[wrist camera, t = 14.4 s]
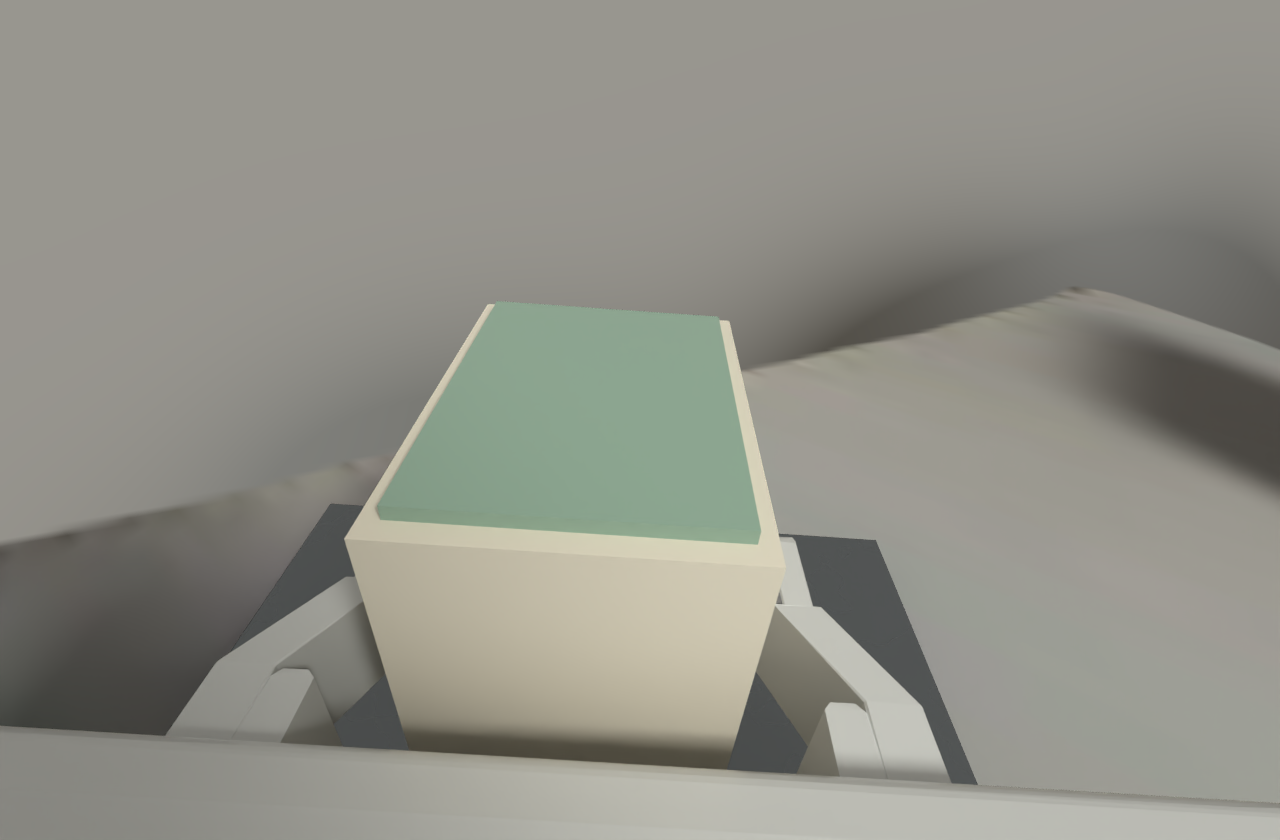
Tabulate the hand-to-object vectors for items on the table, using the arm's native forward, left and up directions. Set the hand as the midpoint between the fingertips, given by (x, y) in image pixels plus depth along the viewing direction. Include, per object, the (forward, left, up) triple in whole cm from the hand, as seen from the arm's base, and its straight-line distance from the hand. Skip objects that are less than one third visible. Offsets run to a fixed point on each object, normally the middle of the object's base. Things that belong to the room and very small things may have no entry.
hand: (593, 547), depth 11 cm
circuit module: (0, -1, -5) cm, 5 cm away
